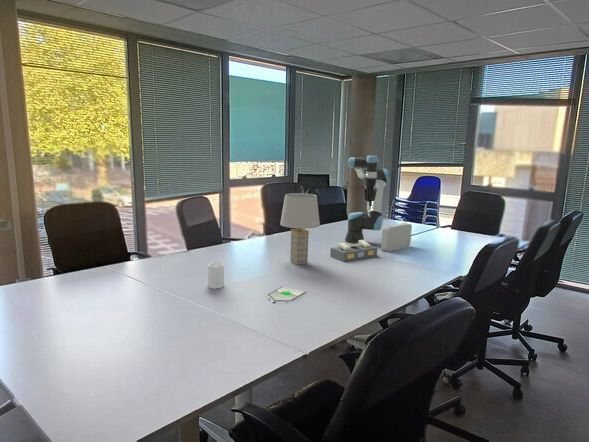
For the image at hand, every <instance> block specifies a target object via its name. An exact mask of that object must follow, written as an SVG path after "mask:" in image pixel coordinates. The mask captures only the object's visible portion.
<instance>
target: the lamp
mask: <svg viewBox="0 0 589 442" xmlns="http://www.w3.org/2000/svg"><path fill="white" fill-rule="evenodd" d="M320 222H321V221H320V213H319V205H318V197H317V195H316V194H312V193H300V192H299V193H297V192H296V193H295V192H294V193H286V194H285V195H284V200H283V207H282V211H281V217H280V224H279V225H280V226H282V227H284V228H290V256H289V257H290V258H289V259H290V260H289V261H290V262H291V263H293V264H295V265H305V264H308V260H309V259H308V258H309V235H310V234H309V233H310V231H309V230H307V229H315V228H318V227H320V226H321V225H320V224H321V223H320Z"/></svg>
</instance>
